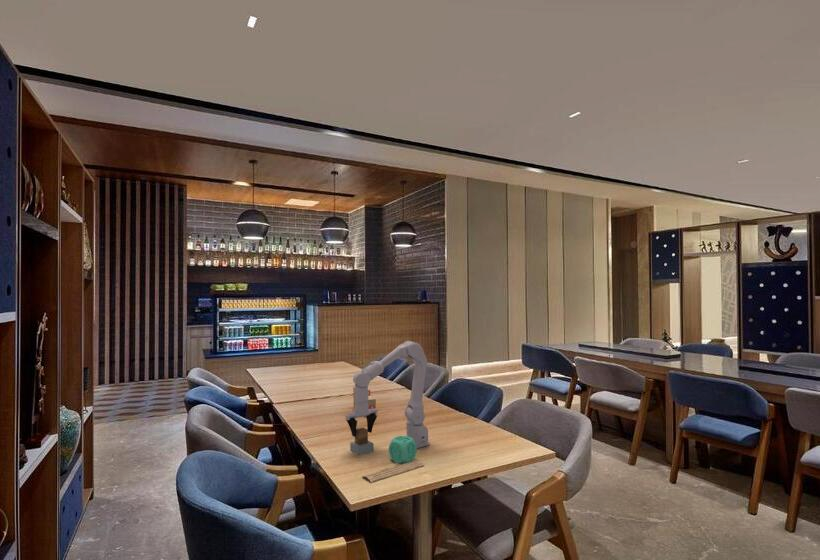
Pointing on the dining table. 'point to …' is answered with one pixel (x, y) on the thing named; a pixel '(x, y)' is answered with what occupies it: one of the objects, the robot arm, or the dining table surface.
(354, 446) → the pedestal block
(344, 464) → the dining table surface
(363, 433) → the walnut block
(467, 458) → the dining table surface
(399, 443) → the decorative dice
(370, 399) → the stack of blocks
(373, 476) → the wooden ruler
